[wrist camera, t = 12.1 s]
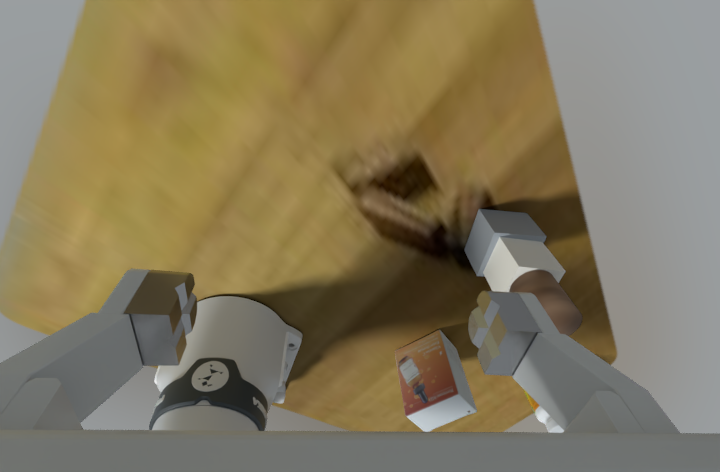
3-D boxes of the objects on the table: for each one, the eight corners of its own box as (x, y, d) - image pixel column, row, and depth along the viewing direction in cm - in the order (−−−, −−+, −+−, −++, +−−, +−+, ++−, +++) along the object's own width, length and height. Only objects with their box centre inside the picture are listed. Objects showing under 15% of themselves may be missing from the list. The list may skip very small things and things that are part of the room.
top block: (523, 276, 44) (543, 307, 40) (482, 272, 43) (499, 304, 39) (542, 241, 41) (565, 271, 37) (499, 236, 40) (518, 266, 36)
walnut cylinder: (541, 304, 40) (566, 343, 36) (502, 301, 39) (523, 340, 35) (562, 272, 37) (591, 309, 33) (520, 267, 36) (545, 305, 32)
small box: (439, 327, 55) (460, 393, 47) (456, 347, 58) (479, 412, 49) (393, 350, 57) (404, 417, 49) (411, 368, 60) (425, 434, 52)
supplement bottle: (510, 377, 64) (537, 435, 56) (534, 359, 61) (565, 417, 53) (533, 386, 65) (561, 443, 57) (556, 368, 63) (590, 425, 55)
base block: (508, 253, 48) (525, 279, 44) (464, 250, 48) (477, 275, 43) (526, 212, 45) (546, 236, 41) (478, 208, 44) (494, 232, 40)
